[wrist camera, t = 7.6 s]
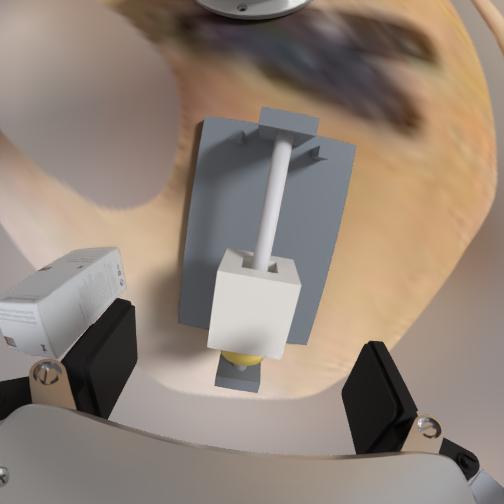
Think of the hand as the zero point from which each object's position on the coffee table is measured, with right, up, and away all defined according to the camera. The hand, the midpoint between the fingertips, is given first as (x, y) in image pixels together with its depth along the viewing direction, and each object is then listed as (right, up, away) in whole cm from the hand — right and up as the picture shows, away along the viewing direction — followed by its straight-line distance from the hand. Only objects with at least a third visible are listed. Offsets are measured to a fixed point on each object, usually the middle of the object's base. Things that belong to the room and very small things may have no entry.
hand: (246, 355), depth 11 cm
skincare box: (-15, +2, +15) cm, 21 cm away
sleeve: (0, +2, +10) cm, 10 cm away
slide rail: (+1, +5, +13) cm, 14 cm away
